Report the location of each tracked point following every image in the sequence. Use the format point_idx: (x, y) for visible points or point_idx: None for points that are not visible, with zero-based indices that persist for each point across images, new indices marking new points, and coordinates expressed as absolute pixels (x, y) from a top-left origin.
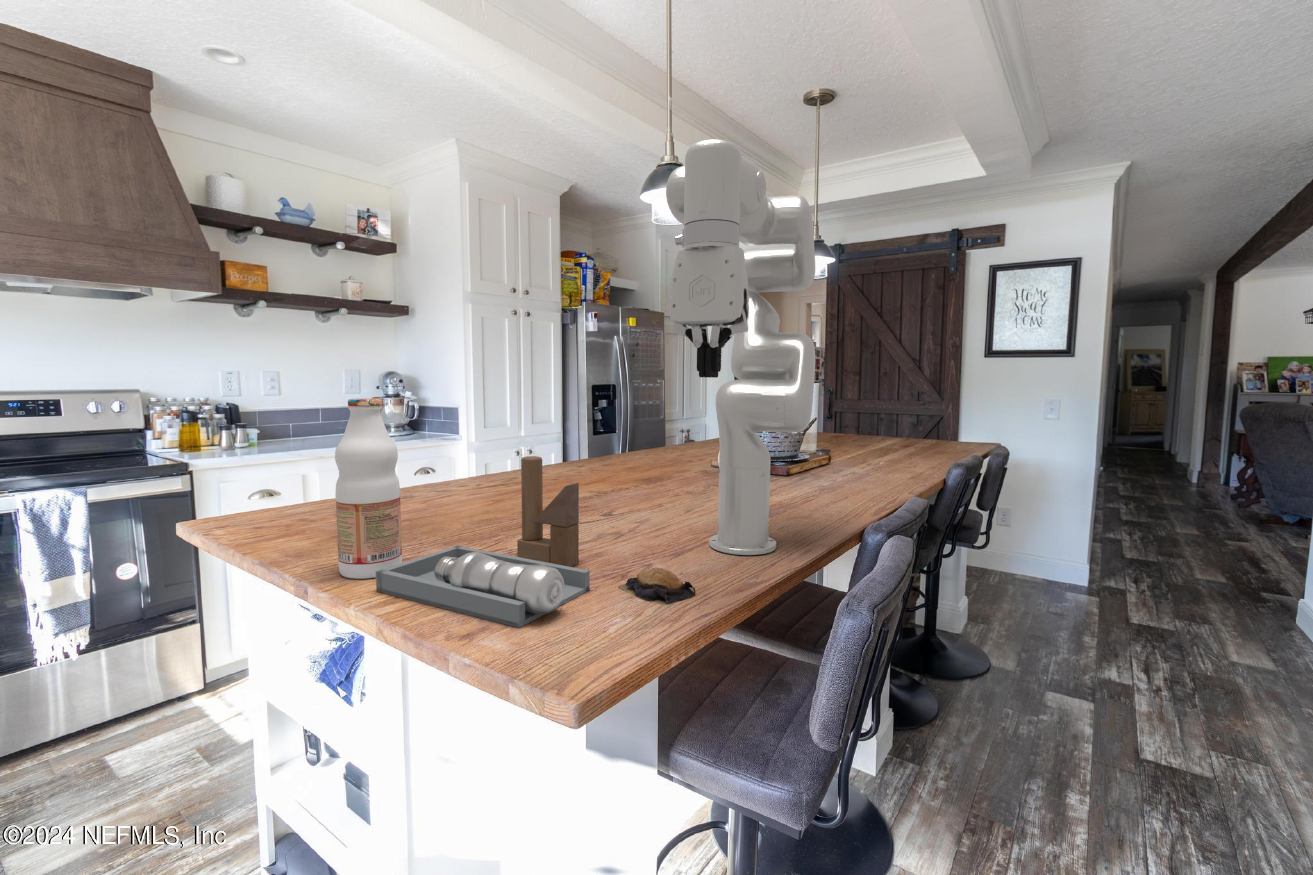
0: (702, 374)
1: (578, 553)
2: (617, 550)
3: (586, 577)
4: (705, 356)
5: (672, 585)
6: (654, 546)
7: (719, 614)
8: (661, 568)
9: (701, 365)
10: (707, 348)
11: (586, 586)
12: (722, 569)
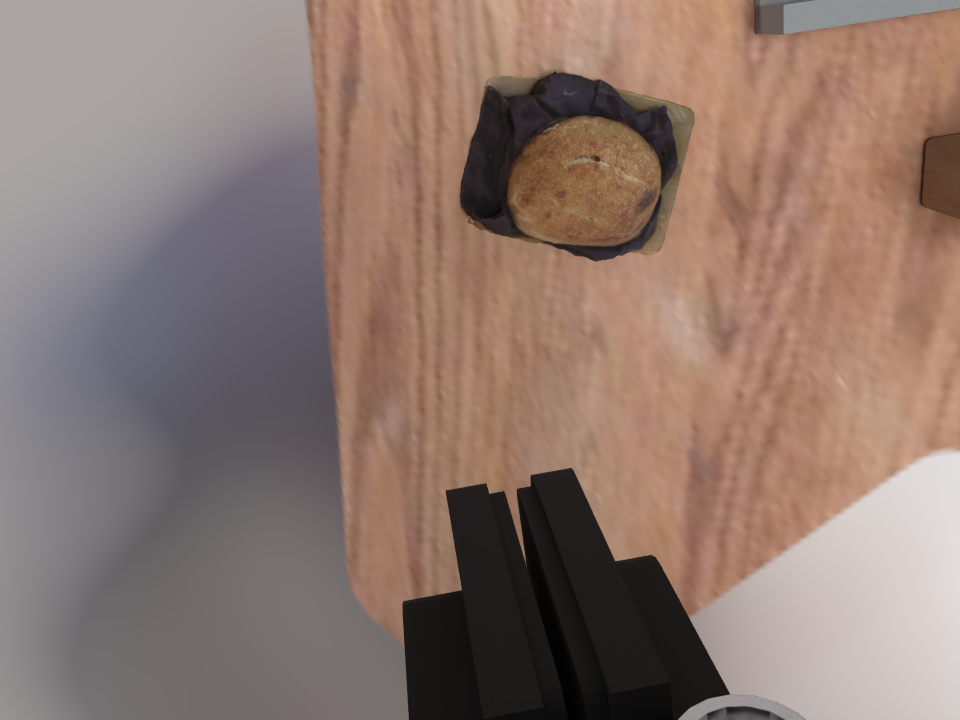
0: (536, 489)
1: (942, 212)
2: (885, 392)
3: (775, 14)
4: (538, 619)
5: (522, 166)
6: (804, 496)
7: (320, 118)
8: (596, 208)
9: (565, 532)
10: (526, 702)
11: (761, 13)
12: (515, 446)
